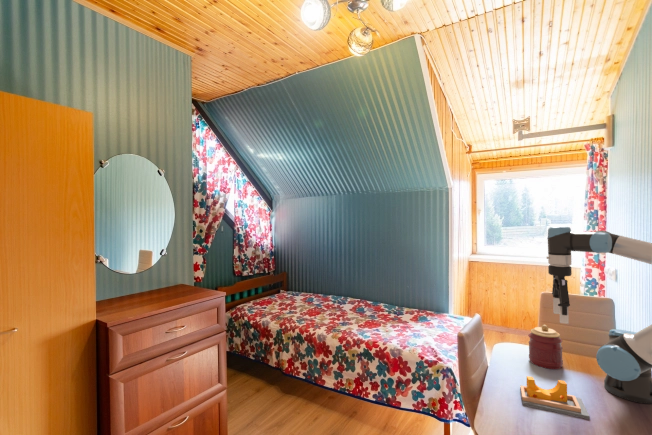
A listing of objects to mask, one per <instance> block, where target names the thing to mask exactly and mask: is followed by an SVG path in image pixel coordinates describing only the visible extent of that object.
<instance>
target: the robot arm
mask: <svg viewBox="0 0 652 435" xmlns="http://www.w3.org/2000/svg"><path fill="white" fill-rule="evenodd" d="M546 240H547V253H548V254H547V256H546V259H547V261H548V264H549V265H547V266H548V270H547V271H548V274H549V275H551V276H552V279H553V280H552V290H551V295H552V303H553V304H552V305H553V306H552V307H553V309H552V312H553V314H556V315H559V323H560V324H566V325H570V317H569V314H570V313H569V312H570V310H569V307H570V306H571V304H570V297H569V296H570V295H569V289H568V288H569V287H568V280H567V279H566V278H565V277H571V276H572V274H573V273H572V267H571V265H572V252H580V253H581V252H583V253H596V254H601V253H604V254H607V253H609V254H612V255H616V256H620V257H624V258H627V259H630V260H634V261H638V262H641V263H646V264H649V265H652V242H649V241H646V240H645V241H644V240H641V239H637V238H632V237H627V236H623V235H619V234H615V233H611V232H609V231H606V230H596V231H588V232H587V231H572V230H571V227H569V226H550V227H548V230H547V239H546ZM608 338H609V340H608V341H607V342H606V343H605V344H603V345H602V346H600V347H599V348H598V350H597V352H596V355H595V356H596V358H595V359H596V362H597V365H598V366H599V368H600V369H601V370H602V371H603V372H604V374H606V375H605V378H604V384H603V386H604V389H605V390H606V391H608V392H609V393H611V394H613V395H614V396H617V397H618V398H621V399H624V400H628V401H630V402H634V403H640V404H649V405H650V404H652V324H650V325H647V327H645V328H643V329H640V330H639V331H638V332H635V331H631V330H625V329H616V328H615V329H614V328H612V329H610V330H609V331H608Z"/></svg>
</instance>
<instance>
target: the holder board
mask: <svg viewBox="0 0 652 435" xmlns="http://www.w3.org/2000/svg"><path fill="white" fill-rule="evenodd" d="M519 390H520V395H521V396H520V397H521V402H522V405H523V406H526V407H531V408H535V409H538V410H539V409H540V410H544V411H548V412H552V413H553V412H554V413H558V414H563V415H568V416H571V417H577V418H581V419H586V420H591V418H590V414H589V412H588V410H587V407H586V406H585V403H584V401H583V400H582V398H581V397H576V395H572V394H568V393H567V402H562V401H555V400H551V401H547V400H542V399H537V398H532V397H529V396H528V394H527V385H520V386H519Z"/></svg>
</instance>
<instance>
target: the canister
mask: <svg viewBox="0 0 652 435" xmlns="http://www.w3.org/2000/svg"><path fill="white" fill-rule="evenodd" d="M528 337H529V341H528V353H529V354H528V359H529V362H530V363H531V364H533V365H535V366H537V367H539V368H543V369H548V370H559V369H561V368H563V365H564V360H563V345H562V343H563V339H562V338H561V334H560V333H559V332H557V331H556V330H555V329H553V328H549V327H548V325H546V324H543V325H541V326H535V327H534V328H531V329H530V332H529V334H528Z"/></svg>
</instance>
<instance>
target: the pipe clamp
mask: <svg viewBox="0 0 652 435" xmlns="http://www.w3.org/2000/svg"><path fill="white" fill-rule="evenodd" d="M526 386H527V394H528V396H529V397H532V398H537V399H542V400H547V401H551V400H555V401H562V402H567V394H568V383H567V382H566V381H565V380H561V379H557V383H556V385H555V386H554V387H552V388H549V389H546V388H541V387H539V386H538V385H537V384H536V381H535V379H534V377H533V376H526Z"/></svg>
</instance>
